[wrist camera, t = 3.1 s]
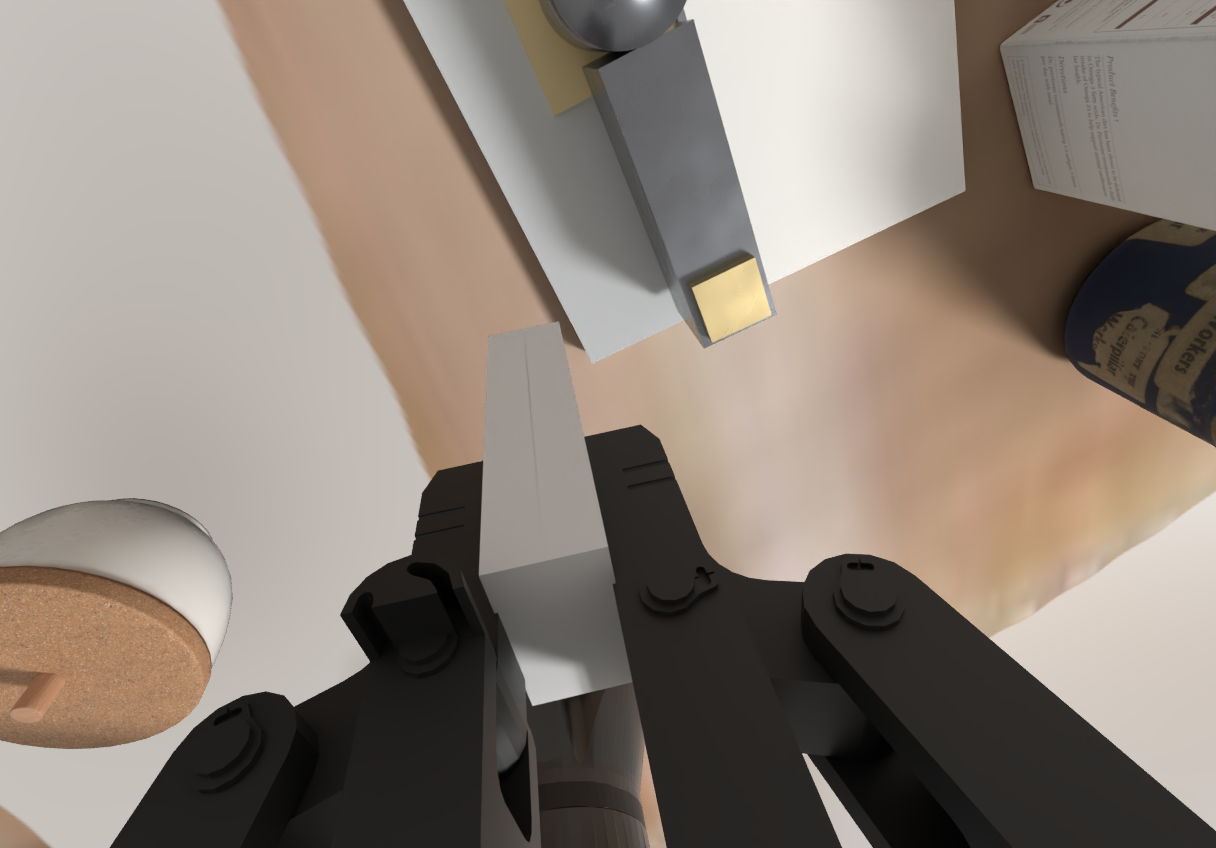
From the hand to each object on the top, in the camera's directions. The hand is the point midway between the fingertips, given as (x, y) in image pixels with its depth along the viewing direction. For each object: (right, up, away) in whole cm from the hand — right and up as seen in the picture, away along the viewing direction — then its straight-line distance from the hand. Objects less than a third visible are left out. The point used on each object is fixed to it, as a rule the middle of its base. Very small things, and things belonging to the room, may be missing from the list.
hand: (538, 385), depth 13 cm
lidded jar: (-22, -7, +17) cm, 29 cm away
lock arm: (+3, +10, +9) cm, 14 cm away
